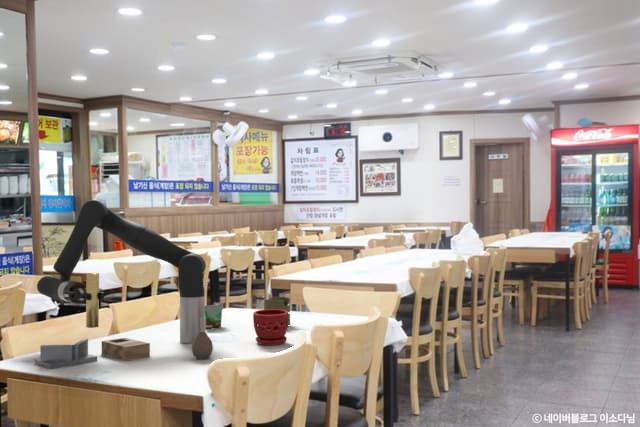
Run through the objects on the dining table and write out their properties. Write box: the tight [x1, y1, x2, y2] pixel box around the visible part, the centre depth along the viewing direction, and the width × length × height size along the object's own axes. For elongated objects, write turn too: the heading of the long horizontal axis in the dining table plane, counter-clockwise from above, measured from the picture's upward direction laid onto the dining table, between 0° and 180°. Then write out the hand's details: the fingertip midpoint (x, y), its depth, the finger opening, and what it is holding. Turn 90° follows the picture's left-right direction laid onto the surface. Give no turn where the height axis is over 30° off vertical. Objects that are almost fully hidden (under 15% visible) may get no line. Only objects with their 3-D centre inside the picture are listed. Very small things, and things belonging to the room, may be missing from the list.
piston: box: [263, 296, 291, 326], centre depth 291 cm, size 11×12×11 cm
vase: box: [191, 332, 214, 360], centre depth 226 cm, size 7×7×9 cm
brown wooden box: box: [101, 337, 151, 361], centre depth 232 cm, size 16×9×4 cm, turn 47°
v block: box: [34, 338, 98, 370], centre depth 221 cm, size 12×16×6 cm
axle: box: [85, 272, 100, 329], centre depth 228 cm, size 4×4×18 cm
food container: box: [205, 301, 224, 330], centre depth 288 cm, size 12×6×10 cm, turn 168°
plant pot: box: [252, 309, 289, 346], centre depth 252 cm, size 13×13×12 cm
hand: (96, 296), depth 226 cm, fingers closed on axle, 4 cm apart
